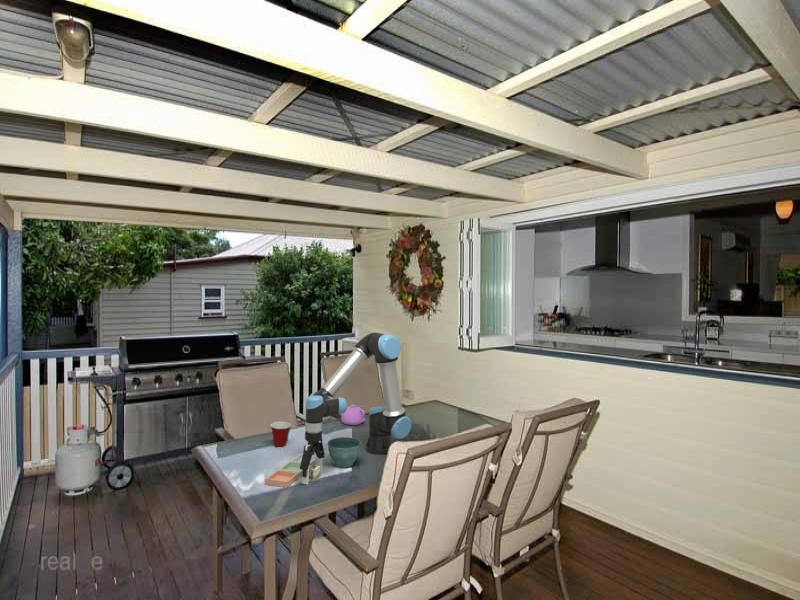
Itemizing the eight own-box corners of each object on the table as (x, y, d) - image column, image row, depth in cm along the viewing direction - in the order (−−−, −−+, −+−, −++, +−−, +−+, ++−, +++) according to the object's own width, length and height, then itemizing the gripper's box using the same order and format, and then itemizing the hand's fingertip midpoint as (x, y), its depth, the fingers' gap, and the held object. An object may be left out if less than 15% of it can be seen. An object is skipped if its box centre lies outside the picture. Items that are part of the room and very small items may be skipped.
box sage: (309, 469, 214) (309, 464, 214) (299, 478, 204) (299, 472, 204) (289, 466, 217) (289, 461, 217) (278, 474, 207) (278, 469, 207)
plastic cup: (278, 451, 238) (278, 428, 238) (265, 446, 244) (266, 424, 244) (294, 445, 246) (295, 423, 246) (282, 441, 253) (282, 420, 253)
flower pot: (346, 473, 211) (346, 450, 211) (320, 465, 219) (320, 443, 219) (366, 463, 224) (367, 441, 224) (341, 456, 233) (341, 435, 233)
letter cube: (319, 477, 206) (320, 465, 206) (315, 481, 201) (315, 470, 201) (309, 475, 207) (310, 464, 207) (304, 479, 203) (305, 468, 202)
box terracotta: (298, 478, 204) (298, 472, 204) (286, 487, 193) (287, 482, 193) (277, 475, 206) (277, 469, 206) (264, 484, 196) (265, 478, 196)
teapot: (369, 422, 295) (369, 404, 295) (360, 428, 282) (360, 409, 282) (342, 418, 302) (343, 401, 302) (332, 423, 290) (332, 405, 290)
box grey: (319, 461, 225) (319, 456, 225) (310, 469, 215) (310, 463, 215) (300, 458, 228) (300, 453, 228) (289, 466, 217) (290, 461, 217)
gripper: (317, 422, 217) (316, 466, 217) (292, 438, 193) (291, 487, 193) (332, 424, 215) (331, 468, 215) (308, 440, 191) (307, 490, 191)
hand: (312, 477), depth 204 cm, fingers open, 13 cm apart
